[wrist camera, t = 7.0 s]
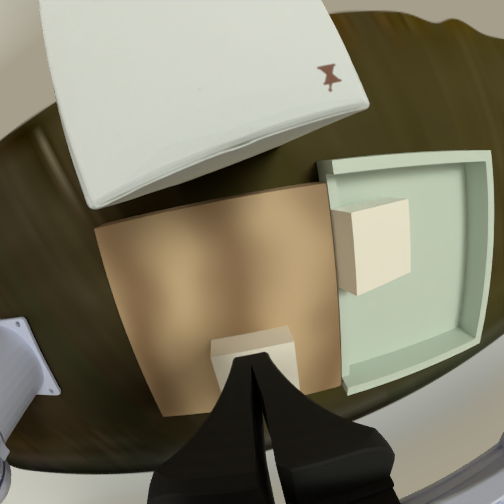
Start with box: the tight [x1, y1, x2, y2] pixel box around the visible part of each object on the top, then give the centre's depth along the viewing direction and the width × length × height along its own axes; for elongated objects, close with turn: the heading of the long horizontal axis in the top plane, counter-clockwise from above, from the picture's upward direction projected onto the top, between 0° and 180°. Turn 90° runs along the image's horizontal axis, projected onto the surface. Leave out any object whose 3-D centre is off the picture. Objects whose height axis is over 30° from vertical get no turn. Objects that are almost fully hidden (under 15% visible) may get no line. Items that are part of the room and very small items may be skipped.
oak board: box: [94, 182, 341, 417], centre depth 20 cm, size 14×15×2 cm
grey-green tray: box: [316, 150, 494, 395], centre depth 20 cm, size 14×17×3 cm
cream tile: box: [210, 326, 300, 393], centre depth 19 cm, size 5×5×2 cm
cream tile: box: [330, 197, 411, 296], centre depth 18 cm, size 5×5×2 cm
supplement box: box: [38, 0, 370, 209], centre depth 11 cm, size 7×7×13 cm
